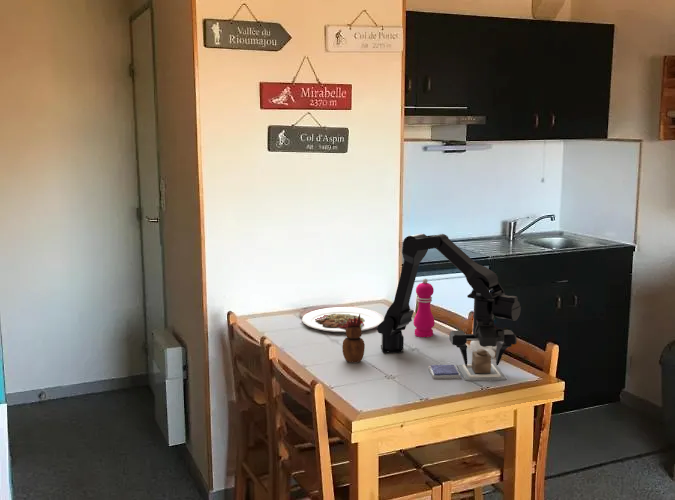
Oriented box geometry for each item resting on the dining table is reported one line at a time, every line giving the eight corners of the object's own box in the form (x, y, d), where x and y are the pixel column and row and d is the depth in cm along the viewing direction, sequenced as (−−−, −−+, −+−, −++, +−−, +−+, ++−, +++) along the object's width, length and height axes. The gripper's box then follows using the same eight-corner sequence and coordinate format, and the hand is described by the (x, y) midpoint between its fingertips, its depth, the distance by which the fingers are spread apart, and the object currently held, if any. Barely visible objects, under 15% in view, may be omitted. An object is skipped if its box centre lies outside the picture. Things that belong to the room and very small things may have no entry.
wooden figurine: (366, 359, 224) (367, 312, 221) (361, 365, 218) (361, 317, 215) (346, 356, 226) (346, 310, 223) (340, 362, 220) (340, 315, 218)
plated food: (334, 307, 283) (334, 299, 282) (399, 320, 266) (399, 311, 265) (285, 326, 259) (285, 317, 258) (353, 341, 242) (353, 331, 241)
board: (465, 380, 206) (465, 377, 206) (456, 366, 218) (456, 362, 217) (506, 380, 206) (506, 376, 206) (495, 365, 218) (495, 362, 218)
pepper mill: (410, 336, 246) (411, 279, 242) (416, 330, 252) (417, 275, 248) (431, 339, 243) (432, 281, 239) (436, 333, 250) (438, 277, 246)
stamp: (475, 374, 210) (476, 353, 208) (471, 369, 214) (472, 348, 213) (490, 374, 210) (491, 353, 208) (486, 368, 214) (487, 348, 213)
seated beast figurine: (494, 358, 224) (496, 322, 222) (466, 355, 227) (468, 319, 225) (498, 349, 233) (500, 313, 230) (472, 346, 236) (473, 311, 233)
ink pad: (433, 378, 207) (433, 374, 207) (428, 368, 215) (428, 364, 215) (460, 378, 208) (460, 373, 207) (454, 368, 216) (455, 364, 215)
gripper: (457, 322, 200) (455, 375, 203) (523, 321, 201) (520, 374, 204) (449, 311, 211) (448, 362, 214) (512, 310, 212) (509, 361, 215)
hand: (481, 365), depth 211 cm, fingers open, 9 cm apart
